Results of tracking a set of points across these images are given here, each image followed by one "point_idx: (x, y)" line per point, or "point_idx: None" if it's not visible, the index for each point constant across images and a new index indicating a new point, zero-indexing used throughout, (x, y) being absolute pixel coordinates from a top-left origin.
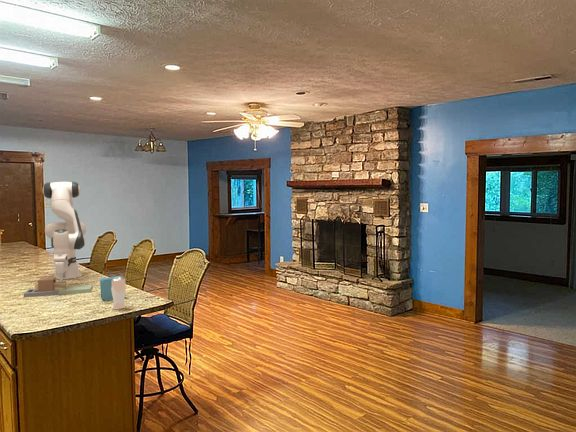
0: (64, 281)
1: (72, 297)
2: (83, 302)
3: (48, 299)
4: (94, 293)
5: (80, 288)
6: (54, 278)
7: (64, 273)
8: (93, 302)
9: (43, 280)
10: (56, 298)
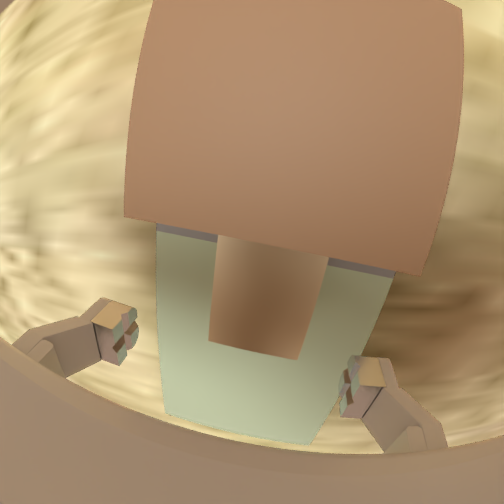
0: (294, 344)
1: (66, 296)
2: (4, 311)
3: (50, 157)
4: (136, 399)
5: (202, 386)
6: (283, 244)
7: (383, 432)
8: (8, 336)
9: (146, 44)
10: (58, 206)
